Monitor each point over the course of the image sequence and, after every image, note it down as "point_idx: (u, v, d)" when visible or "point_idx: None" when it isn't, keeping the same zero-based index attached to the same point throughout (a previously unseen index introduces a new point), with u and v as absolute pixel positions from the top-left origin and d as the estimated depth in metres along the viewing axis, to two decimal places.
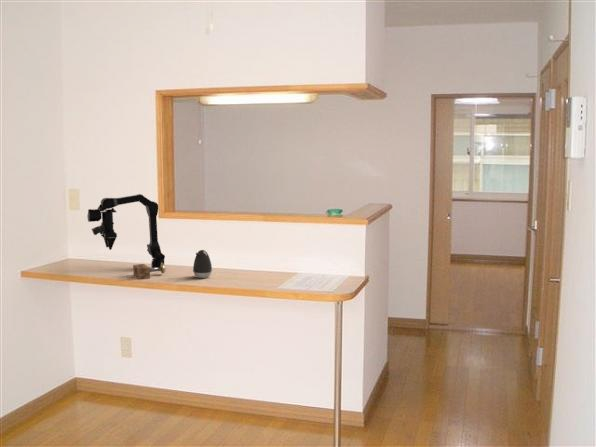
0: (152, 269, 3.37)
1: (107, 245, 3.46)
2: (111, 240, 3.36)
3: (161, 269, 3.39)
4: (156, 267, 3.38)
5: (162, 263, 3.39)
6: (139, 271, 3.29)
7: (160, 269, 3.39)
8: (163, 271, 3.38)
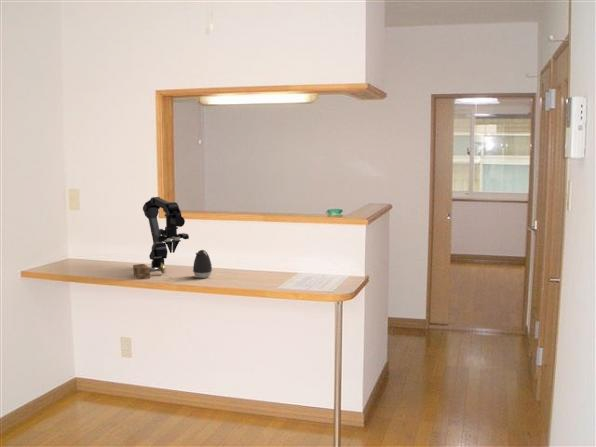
0: (152, 269, 3.37)
1: (173, 250, 3.42)
2: (169, 244, 3.40)
3: (161, 269, 3.39)
4: (156, 267, 3.38)
5: (162, 263, 3.39)
6: (139, 271, 3.29)
7: (160, 269, 3.39)
8: (163, 271, 3.38)
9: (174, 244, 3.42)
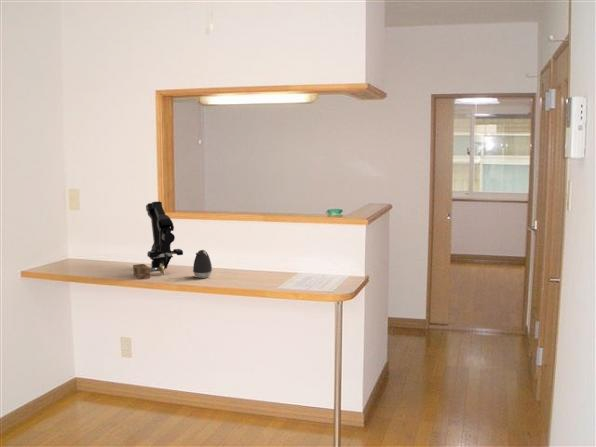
0: (151, 269, 3.37)
1: None
2: (163, 259, 3.39)
3: (160, 269, 3.39)
4: (155, 267, 3.38)
5: (161, 263, 3.39)
6: (139, 271, 3.29)
7: (159, 269, 3.39)
8: (162, 271, 3.38)
9: (166, 260, 3.40)
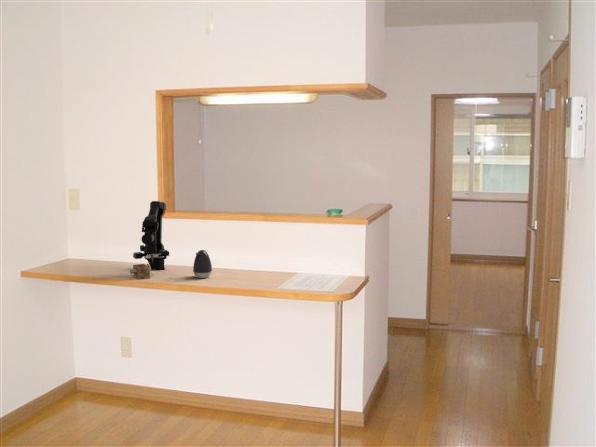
0: None
1: None
2: (149, 260, 3.36)
3: None
4: None
5: (148, 265, 3.36)
6: (139, 271, 3.29)
7: None
8: None
9: (152, 261, 3.36)
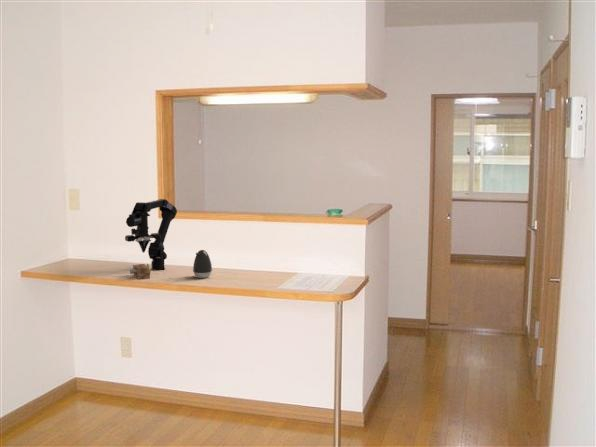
0: None
1: None
2: (141, 243, 3.42)
3: None
4: None
5: (148, 264, 3.36)
6: (139, 271, 3.29)
7: None
8: None
9: (144, 244, 3.43)
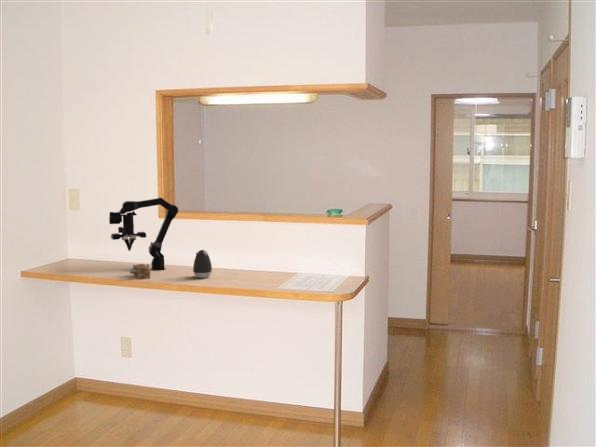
0: None
1: None
2: None
3: None
4: None
5: (148, 264, 3.36)
6: (139, 271, 3.29)
7: None
8: None
9: (130, 242, 3.48)
